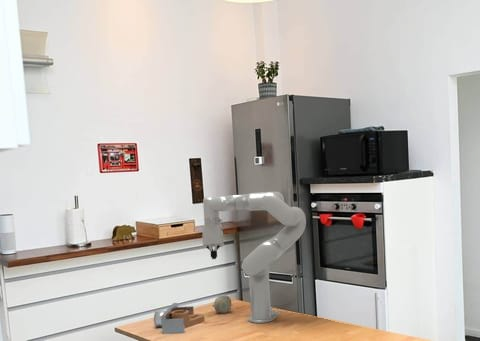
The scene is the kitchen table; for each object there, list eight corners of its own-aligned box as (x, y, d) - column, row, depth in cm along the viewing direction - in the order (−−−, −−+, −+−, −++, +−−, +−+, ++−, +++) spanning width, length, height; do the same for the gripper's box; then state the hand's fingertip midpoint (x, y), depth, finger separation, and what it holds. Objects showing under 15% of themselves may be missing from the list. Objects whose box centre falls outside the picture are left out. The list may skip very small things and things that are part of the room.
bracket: (180, 330, 221) (179, 315, 221) (168, 327, 226) (167, 313, 227) (207, 320, 234) (207, 306, 235) (196, 318, 240) (195, 304, 240)
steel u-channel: (194, 318, 239) (193, 302, 240) (183, 332, 216) (182, 314, 216) (162, 319, 241) (161, 303, 241) (149, 334, 217) (148, 316, 217)
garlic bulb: (231, 316, 249) (236, 297, 249) (223, 317, 241) (229, 298, 242) (216, 309, 253) (221, 291, 253) (208, 310, 245) (214, 291, 246)
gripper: (227, 220, 242) (229, 257, 242) (198, 222, 244) (200, 258, 243) (225, 221, 235) (228, 259, 234) (195, 223, 236) (197, 260, 236)
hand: (214, 258), depth 239 cm, fingers closed
